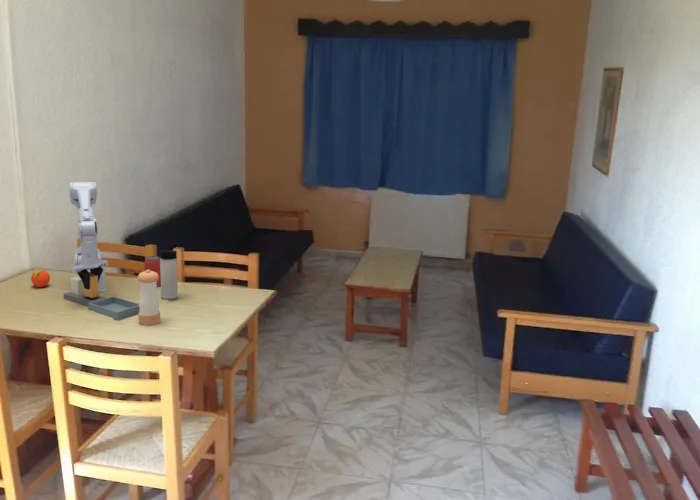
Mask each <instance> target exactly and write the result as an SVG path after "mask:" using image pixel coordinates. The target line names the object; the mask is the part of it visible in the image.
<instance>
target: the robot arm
mask: <svg viewBox="0 0 700 500" xmlns="http://www.w3.org/2000/svg"><path fill="white" fill-rule="evenodd" d="M68 185H69V186H68V189H69V198H70V202H71V203H70V204H71V205H73V206H75V207H76V208H77V209H76V210H77V217H78V223H77V231H78V236H79V242H80V246H79V247H77V249H75V250H74V252H73V262H74V266H72V267H71V266H70V273H72V274H77V275H78V277H80V278H81V280H82V282H83V285H84V288H85V289H89V288H90V275H91V274H94V275H97V276H98V291H99V293H101V292H105V291H108V289H107V288H106V285H107V284H106V274H105V271H104V268H103V267H108V266H109V261H108V260H106V259H102V256H101V250H100V249H99V248H98V238H97V237H98V234H99V227H98V226H99V225H98V221H97V219H96V216H95V210H94V208H93V207H92V206H94V205H95V204H96V202H97V196H98V191H97V190H98V189H97V183H96V182H95V181H79V182H78V181H77V182H76V181H70V182H69V184H68Z"/></svg>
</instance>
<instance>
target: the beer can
mask: <svg viewBox="0 0 700 500" xmlns="http://www.w3.org/2000/svg"><path fill="white" fill-rule="evenodd" d="M146 270H150V271H153V272H156V273H157V274H158V276H159V278H158V281H156V282H157V287H161V272H160V256H156V255H150V256H146V257H145V260H144V271H146Z"/></svg>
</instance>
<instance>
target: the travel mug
mask: <svg viewBox="0 0 700 500" xmlns="http://www.w3.org/2000/svg"><path fill="white" fill-rule="evenodd" d="M177 254H178V252H177V250H171V249H160V250H159V255H160V256H159V257H160V258H159V259H160V272H161V285H160V298H161V299H162V300H164V301H169V300H173V301H176V300H178V296H179V295H178V293H179V292H178V257H177V256H178V255H177ZM175 299H176V300H175Z"/></svg>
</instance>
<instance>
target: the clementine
mask: <svg viewBox="0 0 700 500" xmlns="http://www.w3.org/2000/svg"><path fill="white" fill-rule="evenodd" d="M50 280H51V276H50V273H49V272H48V271H46V270H44V269H37V270H35V271H34V272H32V274H31V277H30V281H31V283H32V285H34V286H35V287H38V288H44V287H46V286H47V285H49V283H50V282H51V281H50Z"/></svg>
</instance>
